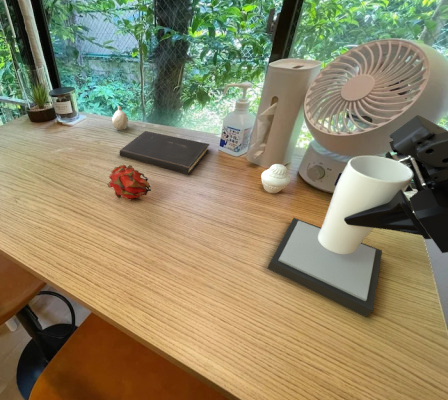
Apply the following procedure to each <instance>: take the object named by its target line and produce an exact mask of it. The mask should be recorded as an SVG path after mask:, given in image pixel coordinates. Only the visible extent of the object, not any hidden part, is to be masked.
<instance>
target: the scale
mask: <svg viewBox="0 0 448 400" xmlns="http://www.w3.org/2000/svg"><path fill="white" fill-rule="evenodd" d="M321 227H322V226H318V225H315V224H312V223H311V222H310V223H309V222H307V221H304V220H302V219H299V218H296V217H293V218H292V220H291V222H290V223H289V226H288V227H287V229H286V231H285V232H284V235H283V236H282V238H281V240H280V242H279V243H278V246H277V247H276V250H275V252H274V254H273V255H272V258H271V259H270V260H269V263H268V266H267V268H266V269H267V270H269V271H272V272H274V273H275V274H277V275H280V276H281V277H283V278H286V279H287V280H290V281H292V282H294V283H295V284H298V285H300V286H301V287H304V288H305V289H308V290H310V291H312V292H314V293H316V294H318V295H320V296H322V297H324V298H326V299H328V300H330V301H332V302H334V303H336V304H338V305H340V306H341V307H345V308H346V309H348V310H350V311H352V312H355V313H356V314H358V315H361V316H362V317H364V318H366V317H367V316H369V315H370V314H371V313H372V312H373V311H374V305H375V301H376V293H377V287H378V286H377V285H378V280H379V274H380V268H381V263H382V262H381V261H382V254H383V249H380V248H377V247H374V246H372V245H369V244H366V243H363V242H362V243H361V244H360V245H359V247H358V248H357V250H356V251H355V252H353V253H351V254H345V255H344V254H337V253H333V252H331V251H329V250H327V249H325V248H324V247H323V246H322V245H321V244H320V243H319V241H318V234H319V232H320V230H321Z"/></svg>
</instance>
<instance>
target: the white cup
mask: <svg viewBox="0 0 448 400" xmlns="http://www.w3.org/2000/svg"><path fill="white" fill-rule="evenodd" d="M385 157H386V156H378V155H358V156H354V157H352V158H350V159H349V160H348V162H347V164H346V166H345V167H344V169H343V170H342V172H341V175H340V176H339V179H338V180H337V183H336V185H335V188H334V191H333V194H332V197H331V199H330V203H329V205H328V208H327V211H326V213H325V217H324V219H323V222H322V225H321V226H320V227H321V230H320V232H319V234H318V241H319V243H320V244H321V245H322V246H323V247H324V248H325V249H327V250H329V251H331V252H333V253H337V254H344V255H345V254H351V253H353V252H355V251H356V250H357V248H358V247H359V245H360V244H361V243H363V242H364V241H365V239H366V238H367V237H368V236H369V234H371V232H372V231H374V229H375V228H370V227H362V226H353V225H348V224H346V222H345V221H344V218H345V217H348V216H350V215H353V214H355V213H358V212H361V211H364V210H368V209H371V208H374V207H377V206H380V205H383V204H386V203H388V202H390V201H391V200H392V199H393V197H394V196H395V195H396V194H397V192H398V191H399V190H402V191H403V193H404V194H405V193H406V192H405V190H406V189H407V187H408V185H409V184H411V182H412V181H413V180H412V179H413V177H414V173H413V171H412V170H411V169H410V168H409V167H408V166H406V165H405V164H403V163H400V162H398V161H395V160H392V159H389V158H385Z"/></svg>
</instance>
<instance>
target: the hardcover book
mask: <svg viewBox="0 0 448 400" xmlns="http://www.w3.org/2000/svg"><path fill="white" fill-rule="evenodd" d="M209 146H210V143H205V142H202V141H197V140H191V139H187V138H182V137H178V136H172V135H167V134H162V133H157V132H152V131H147V130H144V131H143V132H142V133H141V134H139V135H138V136H137V137H136V138H134V139H133V140H131V141H130V142H129V143H128V144H126V145H124V146H123V147H122V148H121V149H119V157H121V158H126V159H129V160H132V161H137V162H140V163H143V164H147V165H151V166H155V167H159V168H162V169H166V170H169V171H173V172H177V173H180V174H184V175H187V176H188V175H190V174H191V173H192V171H193V170H194V169H195V168H196V167H197V166H198V165H199V163H200V162H201V160H202V159H203V158H204V157H205V156H206V154H207V153H208V152H209V149H208V148H209Z"/></svg>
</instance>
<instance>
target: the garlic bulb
mask: <svg viewBox="0 0 448 400" xmlns="http://www.w3.org/2000/svg"><path fill="white" fill-rule="evenodd" d="M117 108H118V109H117V110H116V111H115V112H114V113H113V116H112V119H111V124H112V126H113V127H114V128H115V129H116V130H118V131H122V130H125V129H127V127H128V125H129V117H128V115H127V113H126V112H124V111H122V108H123V107H122V106H120V105H118V106H117Z"/></svg>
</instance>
